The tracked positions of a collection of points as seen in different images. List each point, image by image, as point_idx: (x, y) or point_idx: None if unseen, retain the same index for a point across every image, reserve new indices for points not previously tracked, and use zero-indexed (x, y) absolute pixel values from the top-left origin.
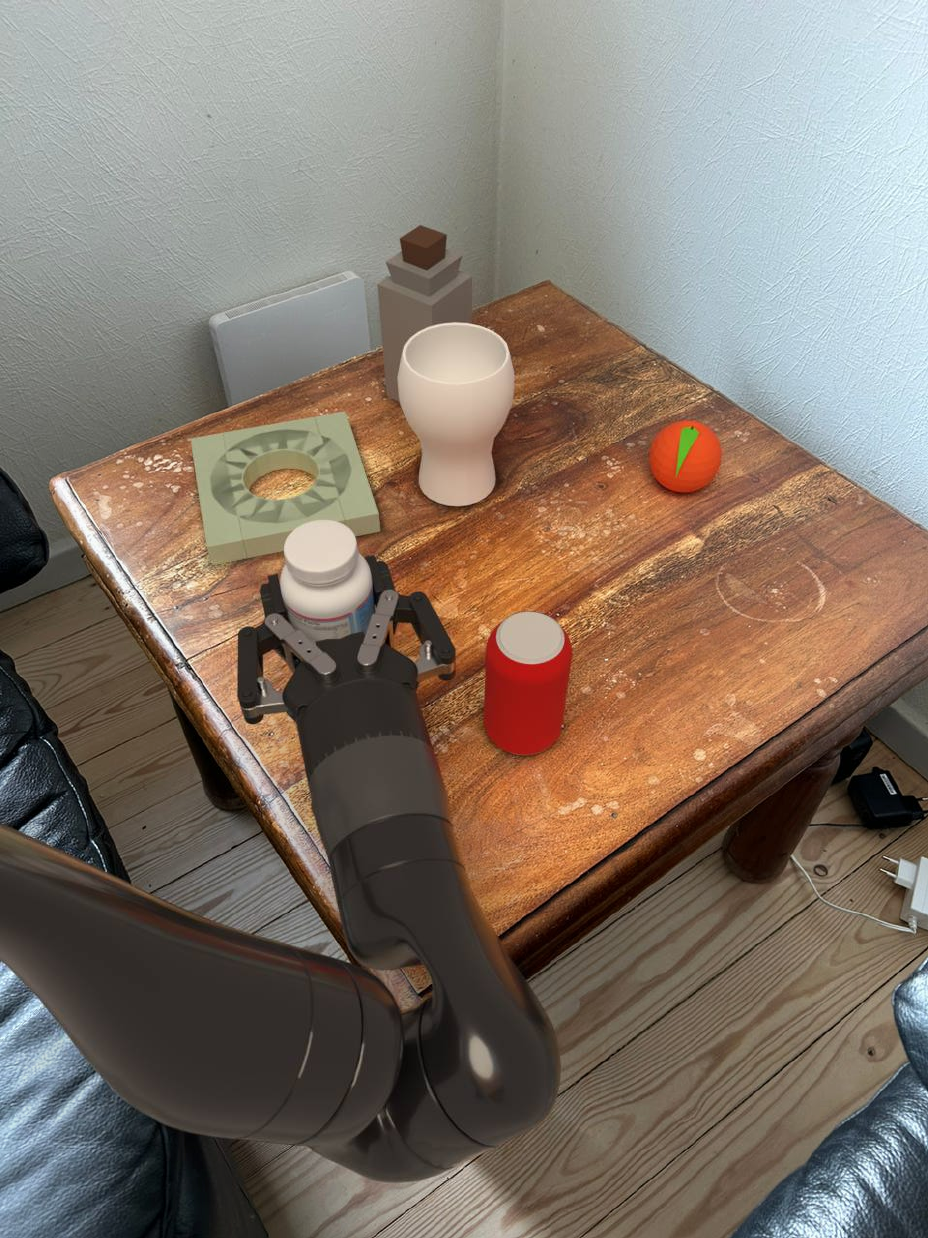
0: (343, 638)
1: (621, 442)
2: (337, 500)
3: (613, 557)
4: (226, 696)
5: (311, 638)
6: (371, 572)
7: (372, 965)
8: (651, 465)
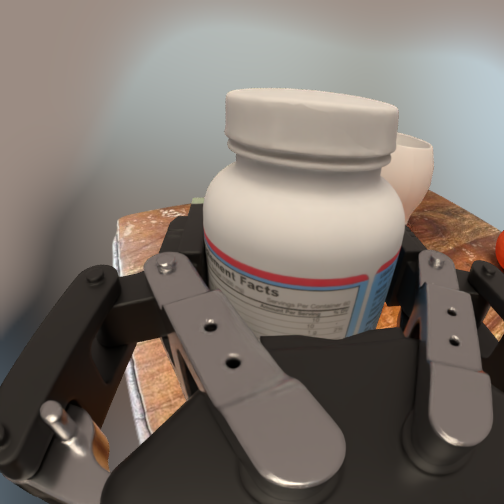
0: (348, 340)
1: (469, 243)
2: None
3: (491, 310)
4: (149, 384)
5: None
6: None
7: None
8: (500, 252)
